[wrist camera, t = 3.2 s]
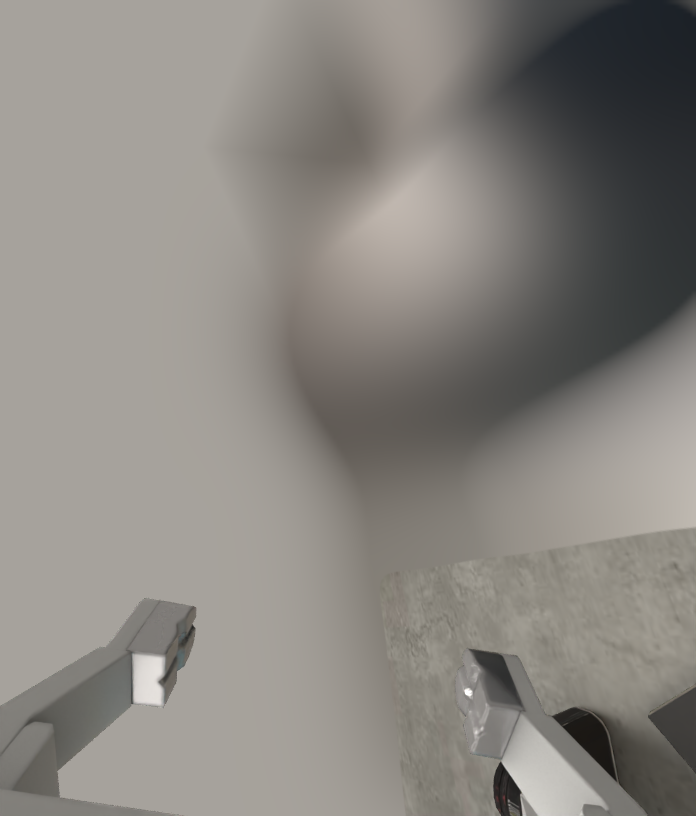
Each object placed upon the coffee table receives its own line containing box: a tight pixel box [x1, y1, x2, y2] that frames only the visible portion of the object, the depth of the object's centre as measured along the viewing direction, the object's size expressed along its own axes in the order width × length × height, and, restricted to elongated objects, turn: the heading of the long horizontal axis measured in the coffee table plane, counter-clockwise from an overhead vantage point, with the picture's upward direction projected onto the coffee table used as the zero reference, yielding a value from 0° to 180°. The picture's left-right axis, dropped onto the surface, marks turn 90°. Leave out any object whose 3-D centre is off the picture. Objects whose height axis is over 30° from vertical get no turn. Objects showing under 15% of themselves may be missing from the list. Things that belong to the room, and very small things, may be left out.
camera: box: [493, 707, 619, 816], centre depth 33 cm, size 15×11×10 cm
